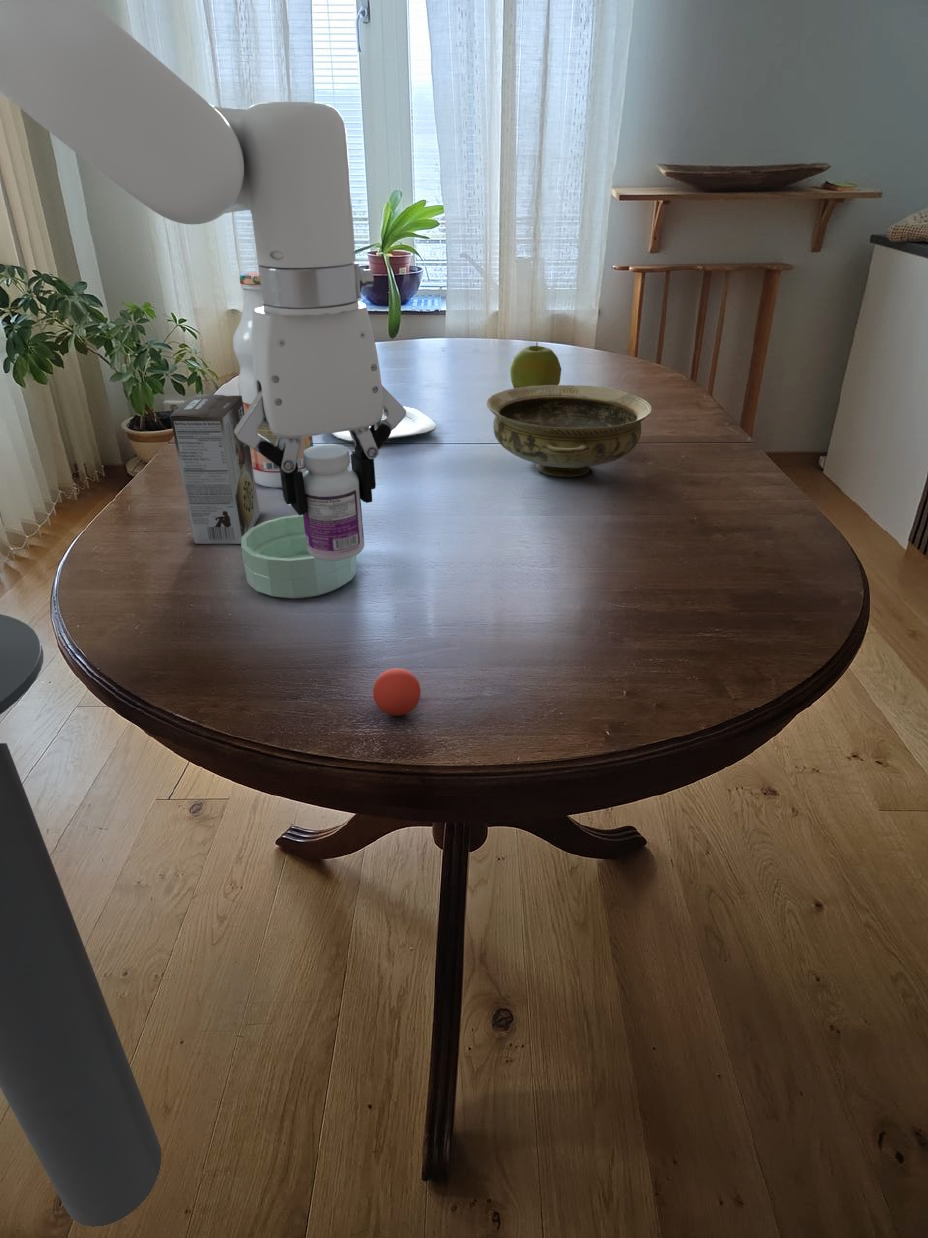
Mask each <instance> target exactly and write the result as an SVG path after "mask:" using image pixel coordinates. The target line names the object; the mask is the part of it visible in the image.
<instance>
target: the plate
mask: <svg viewBox="0 0 928 1238" xmlns="http://www.w3.org/2000/svg"><path fill="white" fill-rule="evenodd" d="M403 407H404V409H405V410H406V415H407V416H408V417H410V418H412V419H410V418H408V417H404V418H403V420H402V421H401V422H400V423H399V424H398V425H397V426H396V427H395V429H393V430H392V431H391V434H390V436H389V437H388V439H387V440H386V441H385V442H384V443H386V442H395V441H400V440H401V441H402V440H406V439H409V438H413V437H417V436H422V435H423V436H424V435H426V434H429V433H432V432H434V431H435V430H436V429H437V424H436V423H435V422H434V420H433V419H431V418H430V417H429V416H427V415H426V414H424V413H423V412H421V411H419V410H418V409H416V408H413V407H408V406H403ZM383 412H384V410H383ZM413 420H414V421H413ZM370 427H371V426H370ZM370 427H369V428H370ZM330 434H331V435H332V436H333V437H335V438H336V439H338V440H339V441H343V442H347V443H354V442H353V439H352V437H351V435H350V432H349V431H343V432H336V433H330Z"/></svg>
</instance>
